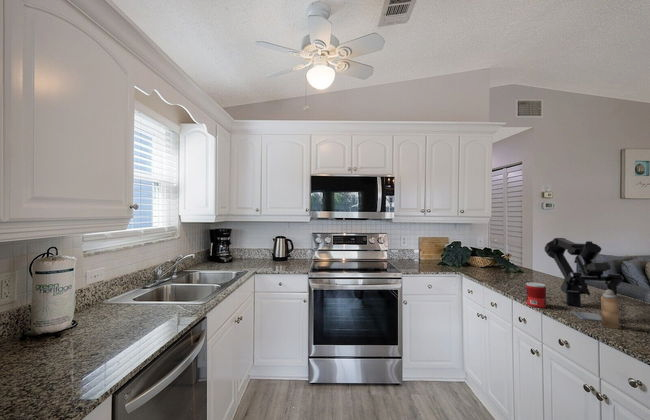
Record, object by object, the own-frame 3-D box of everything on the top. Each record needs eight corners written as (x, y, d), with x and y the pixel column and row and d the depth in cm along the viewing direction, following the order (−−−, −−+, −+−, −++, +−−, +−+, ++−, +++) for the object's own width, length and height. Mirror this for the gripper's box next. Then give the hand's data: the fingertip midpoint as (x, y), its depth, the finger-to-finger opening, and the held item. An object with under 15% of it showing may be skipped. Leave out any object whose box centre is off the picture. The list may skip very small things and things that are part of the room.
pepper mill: (599, 323, 120) (598, 287, 120) (614, 324, 118) (613, 288, 118) (605, 327, 115) (604, 290, 115) (621, 329, 113) (620, 291, 113)
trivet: (572, 313, 132) (572, 311, 132) (597, 315, 129) (597, 313, 129) (582, 319, 124) (582, 318, 124) (608, 322, 120) (608, 320, 120)
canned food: (549, 308, 138) (549, 286, 138) (531, 307, 140) (530, 285, 140) (540, 303, 146) (540, 282, 146) (523, 302, 147) (523, 282, 147)
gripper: (568, 254, 129) (583, 284, 119) (620, 256, 124) (640, 287, 113) (560, 268, 137) (573, 297, 126) (608, 270, 131) (626, 301, 120)
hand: (602, 295), depth 121 cm, fingers open, 9 cm apart
